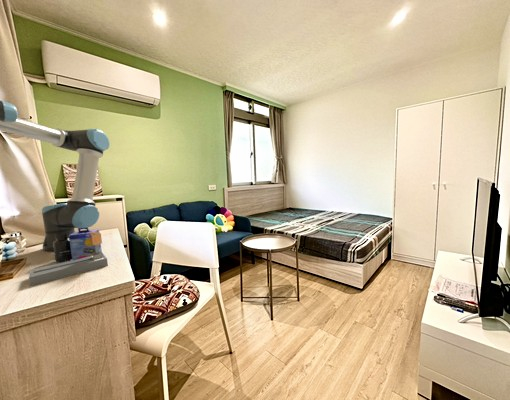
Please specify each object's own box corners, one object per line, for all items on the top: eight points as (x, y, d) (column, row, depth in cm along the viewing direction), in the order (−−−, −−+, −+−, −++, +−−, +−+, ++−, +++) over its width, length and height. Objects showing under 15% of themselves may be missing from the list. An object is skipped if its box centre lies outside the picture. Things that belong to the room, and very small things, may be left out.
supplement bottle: (63, 263, 92) (60, 235, 91) (51, 262, 94) (47, 235, 93) (79, 257, 99) (76, 231, 98) (67, 256, 101) (64, 231, 99)
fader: (94, 259, 86) (91, 235, 85) (92, 255, 90) (89, 232, 89) (103, 257, 88) (100, 233, 87) (101, 253, 92) (98, 231, 91)
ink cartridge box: (71, 263, 92) (67, 229, 91) (76, 258, 98) (72, 227, 96) (99, 258, 96) (95, 226, 95) (102, 254, 101) (98, 224, 100)
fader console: (30, 286, 73) (28, 277, 72) (31, 277, 79) (30, 269, 79) (107, 265, 88) (106, 258, 88) (103, 260, 94) (102, 253, 94)
